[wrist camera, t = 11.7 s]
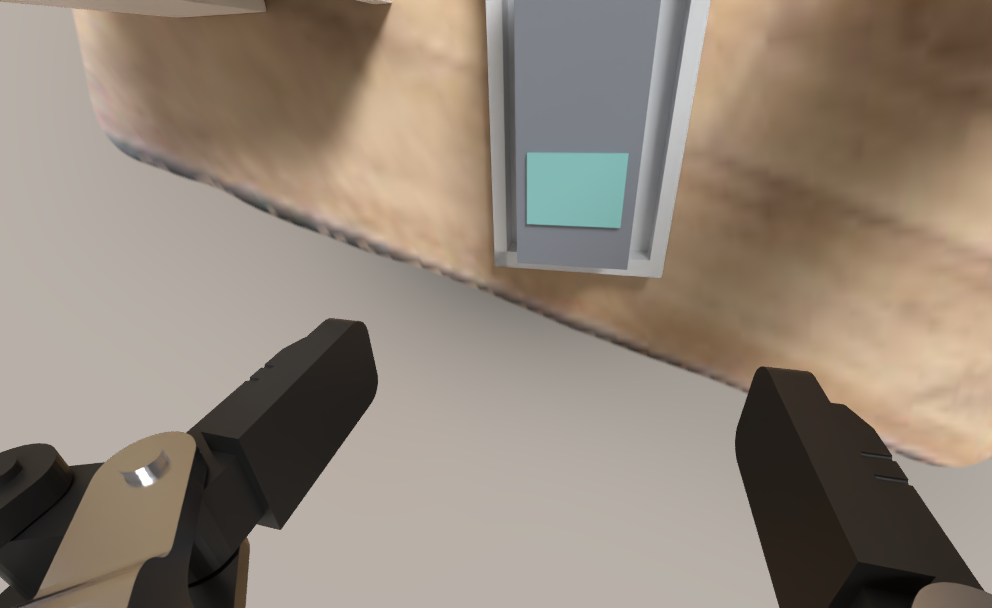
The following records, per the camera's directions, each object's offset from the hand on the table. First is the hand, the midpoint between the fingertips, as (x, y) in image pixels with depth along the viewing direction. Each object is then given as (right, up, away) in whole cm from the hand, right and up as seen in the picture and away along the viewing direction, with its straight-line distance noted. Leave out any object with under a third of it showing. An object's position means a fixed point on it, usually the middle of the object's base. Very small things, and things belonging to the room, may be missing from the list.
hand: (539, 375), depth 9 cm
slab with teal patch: (+4, +12, +13) cm, 18 cm away
